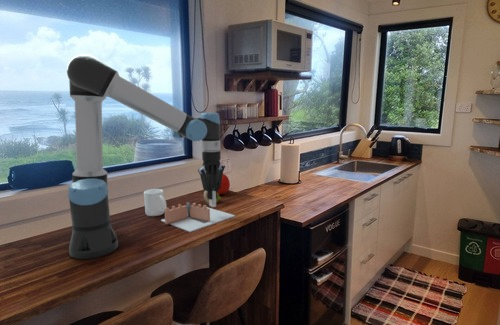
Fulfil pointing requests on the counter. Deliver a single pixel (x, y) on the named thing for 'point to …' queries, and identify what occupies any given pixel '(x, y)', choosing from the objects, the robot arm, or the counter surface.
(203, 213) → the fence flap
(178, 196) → the counter surface
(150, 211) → the mug
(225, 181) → the tomato
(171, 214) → the fence fixed
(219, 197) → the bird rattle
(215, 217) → the card
